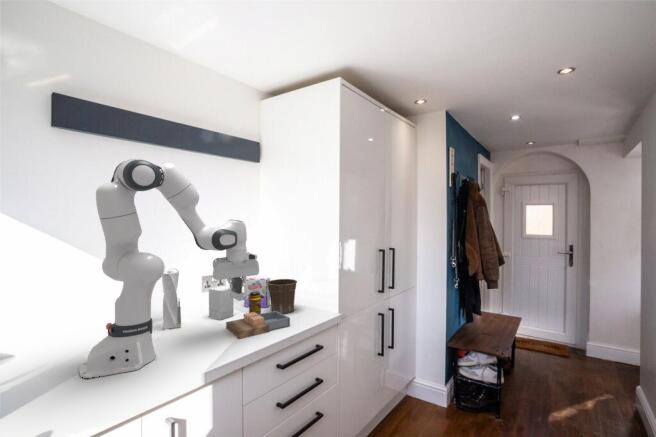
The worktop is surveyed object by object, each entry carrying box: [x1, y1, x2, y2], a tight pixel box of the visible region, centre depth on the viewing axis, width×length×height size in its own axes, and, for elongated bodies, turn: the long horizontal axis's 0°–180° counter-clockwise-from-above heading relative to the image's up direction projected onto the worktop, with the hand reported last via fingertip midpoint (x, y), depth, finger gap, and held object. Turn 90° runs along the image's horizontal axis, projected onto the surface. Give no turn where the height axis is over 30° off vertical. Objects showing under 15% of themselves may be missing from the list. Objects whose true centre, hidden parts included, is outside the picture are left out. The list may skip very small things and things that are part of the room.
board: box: [225, 318, 270, 340], centre depth 146 cm, size 14×16×3 cm
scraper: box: [230, 277, 244, 302], centre depth 143 cm, size 3×11×9 cm, turn 36°
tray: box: [258, 311, 291, 332], centre depth 153 cm, size 11×14×4 cm
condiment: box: [248, 292, 262, 314], centre depth 168 cm, size 7×8×12 cm
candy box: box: [243, 276, 271, 309], centre depth 185 cm, size 14×6×16 cm, turn 80°
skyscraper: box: [161, 267, 182, 330], centre depth 150 cm, size 8×8×28 cm
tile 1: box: [243, 312, 258, 323], centre depth 150 cm, size 5×5×3 cm
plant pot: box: [267, 278, 298, 315], centre depth 176 cm, size 16×16×16 cm
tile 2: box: [249, 315, 264, 327], centre depth 145 cm, size 5×5×3 cm
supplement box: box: [208, 285, 234, 321], centre depth 166 cm, size 9×9×15 cm
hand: (236, 287), depth 143 cm, fingers closed on scraper, 3 cm apart
